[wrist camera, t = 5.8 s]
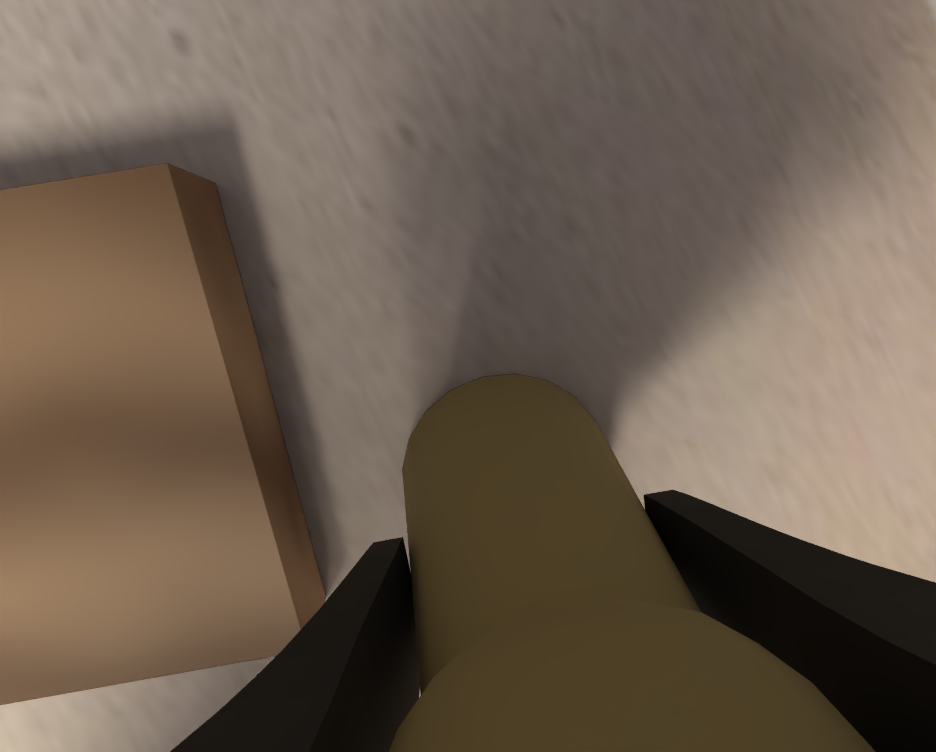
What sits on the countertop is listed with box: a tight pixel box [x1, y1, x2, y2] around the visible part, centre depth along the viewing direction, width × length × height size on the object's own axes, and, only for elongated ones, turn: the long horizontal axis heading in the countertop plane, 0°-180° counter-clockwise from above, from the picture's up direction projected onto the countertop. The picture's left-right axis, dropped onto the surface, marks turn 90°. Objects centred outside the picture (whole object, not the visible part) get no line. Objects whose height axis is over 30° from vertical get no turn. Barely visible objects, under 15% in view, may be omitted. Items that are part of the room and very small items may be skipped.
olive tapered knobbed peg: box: [389, 374, 875, 752], centre depth 8 cm, size 6×6×11 cm
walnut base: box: [0, 163, 326, 705], centre depth 11 cm, size 12×12×2 cm
